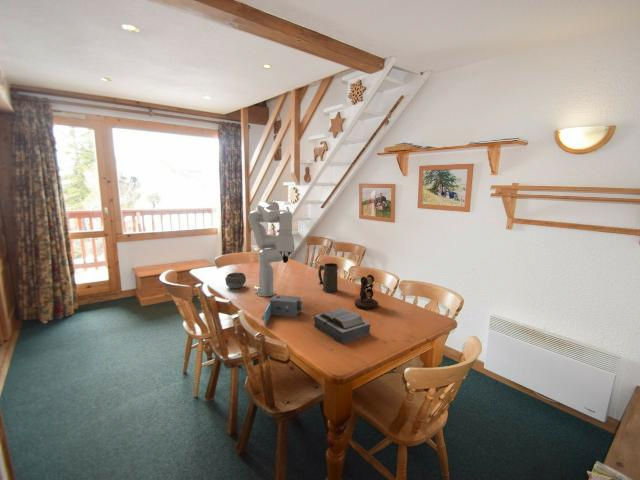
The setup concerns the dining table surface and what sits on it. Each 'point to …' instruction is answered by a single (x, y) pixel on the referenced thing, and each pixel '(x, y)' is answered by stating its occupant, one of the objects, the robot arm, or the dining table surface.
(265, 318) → the side door
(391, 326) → the dining table surface
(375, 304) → the brown figurine
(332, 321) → the grey stacked slabs
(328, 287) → the beer stein
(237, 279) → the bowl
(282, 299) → the camera body
